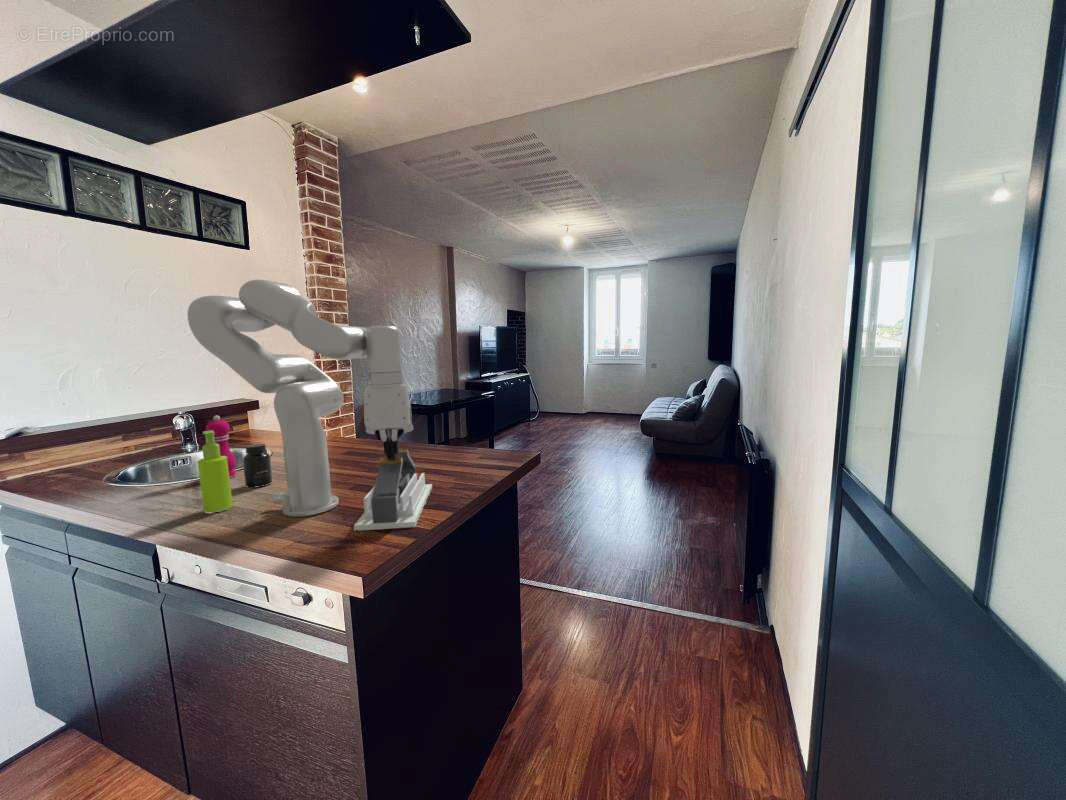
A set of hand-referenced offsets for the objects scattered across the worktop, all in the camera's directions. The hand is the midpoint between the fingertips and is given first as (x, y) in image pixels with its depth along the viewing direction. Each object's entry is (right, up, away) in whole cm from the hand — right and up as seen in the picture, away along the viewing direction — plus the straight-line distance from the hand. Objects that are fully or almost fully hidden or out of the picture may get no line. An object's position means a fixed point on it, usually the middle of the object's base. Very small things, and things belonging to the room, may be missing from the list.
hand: (391, 456), depth 101 cm
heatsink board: (0, -13, +5) cm, 14 cm away
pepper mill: (-65, -11, +34) cm, 74 cm away
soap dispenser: (-46, -14, +7) cm, 49 cm away
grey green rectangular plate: (-1, -3, +10) cm, 11 cm away
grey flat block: (0, -5, -3) cm, 6 cm away
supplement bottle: (-48, -12, +26) cm, 56 cm away
